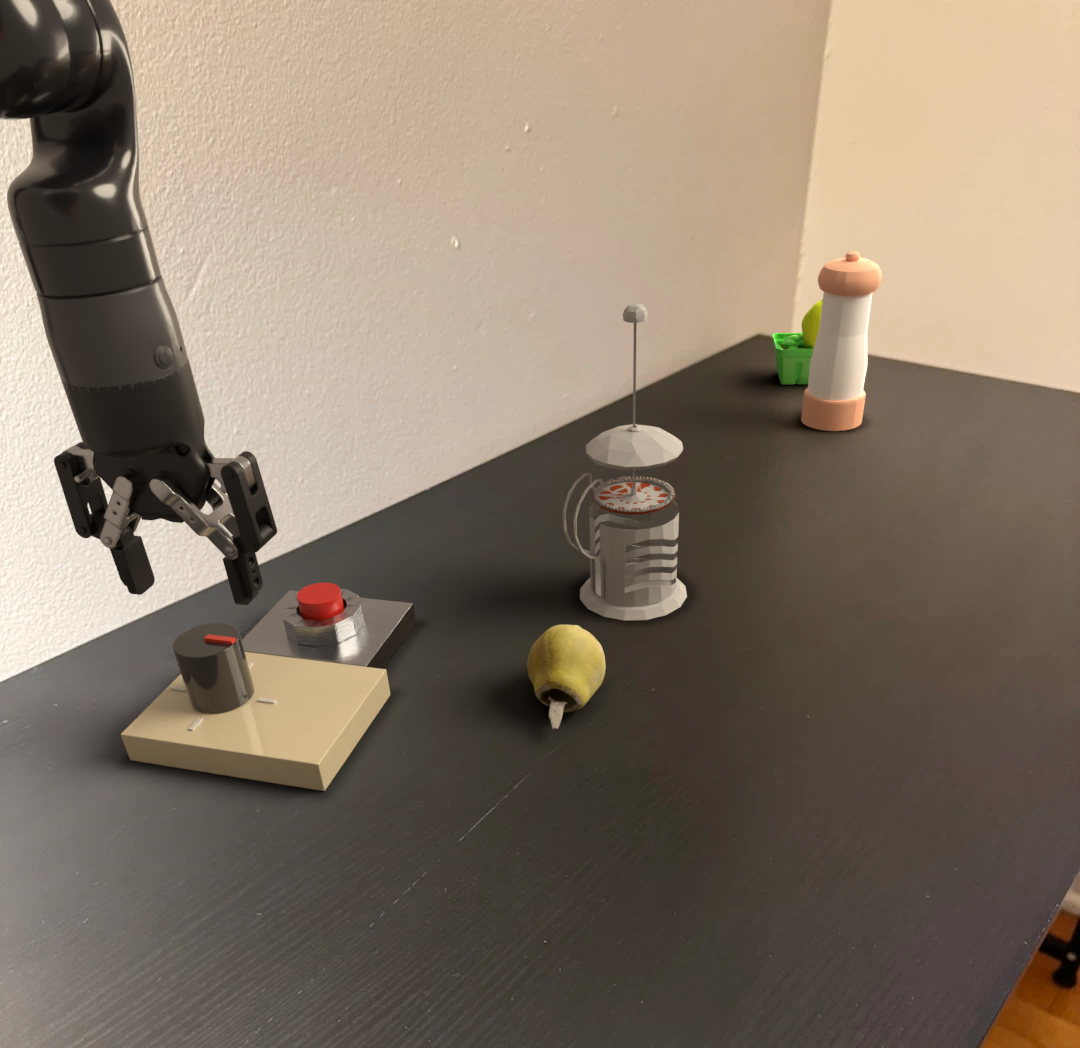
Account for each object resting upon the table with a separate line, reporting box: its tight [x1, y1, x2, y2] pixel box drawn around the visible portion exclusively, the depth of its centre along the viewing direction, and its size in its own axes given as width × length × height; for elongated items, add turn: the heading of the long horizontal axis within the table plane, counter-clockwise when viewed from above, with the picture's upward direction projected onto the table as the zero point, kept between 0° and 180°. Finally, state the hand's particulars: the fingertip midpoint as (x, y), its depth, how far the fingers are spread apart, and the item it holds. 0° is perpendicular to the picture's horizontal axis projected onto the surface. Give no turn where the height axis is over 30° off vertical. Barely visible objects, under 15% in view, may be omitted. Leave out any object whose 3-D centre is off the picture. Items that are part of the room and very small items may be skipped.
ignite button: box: [297, 582, 344, 621], centre depth 82 cm, size 4×4×2 cm
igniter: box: [241, 588, 417, 669], centre depth 83 cm, size 12×10×4 cm
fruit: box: [526, 624, 607, 731], centre depth 75 cm, size 6×6×10 cm
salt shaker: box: [800, 250, 883, 432], centre depth 115 cm, size 7×7×19 cm
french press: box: [562, 303, 688, 622], centre depth 81 cm, size 10×12×25 cm
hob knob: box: [172, 622, 255, 713], centre depth 73 cm, size 5×5×5 cm
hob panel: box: [120, 652, 391, 792], centre depth 75 cm, size 16×12×3 cm
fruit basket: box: [771, 298, 823, 386], centre depth 129 cm, size 11×9×11 cm
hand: (194, 594), depth 69 cm, fingers open, 8 cm apart
